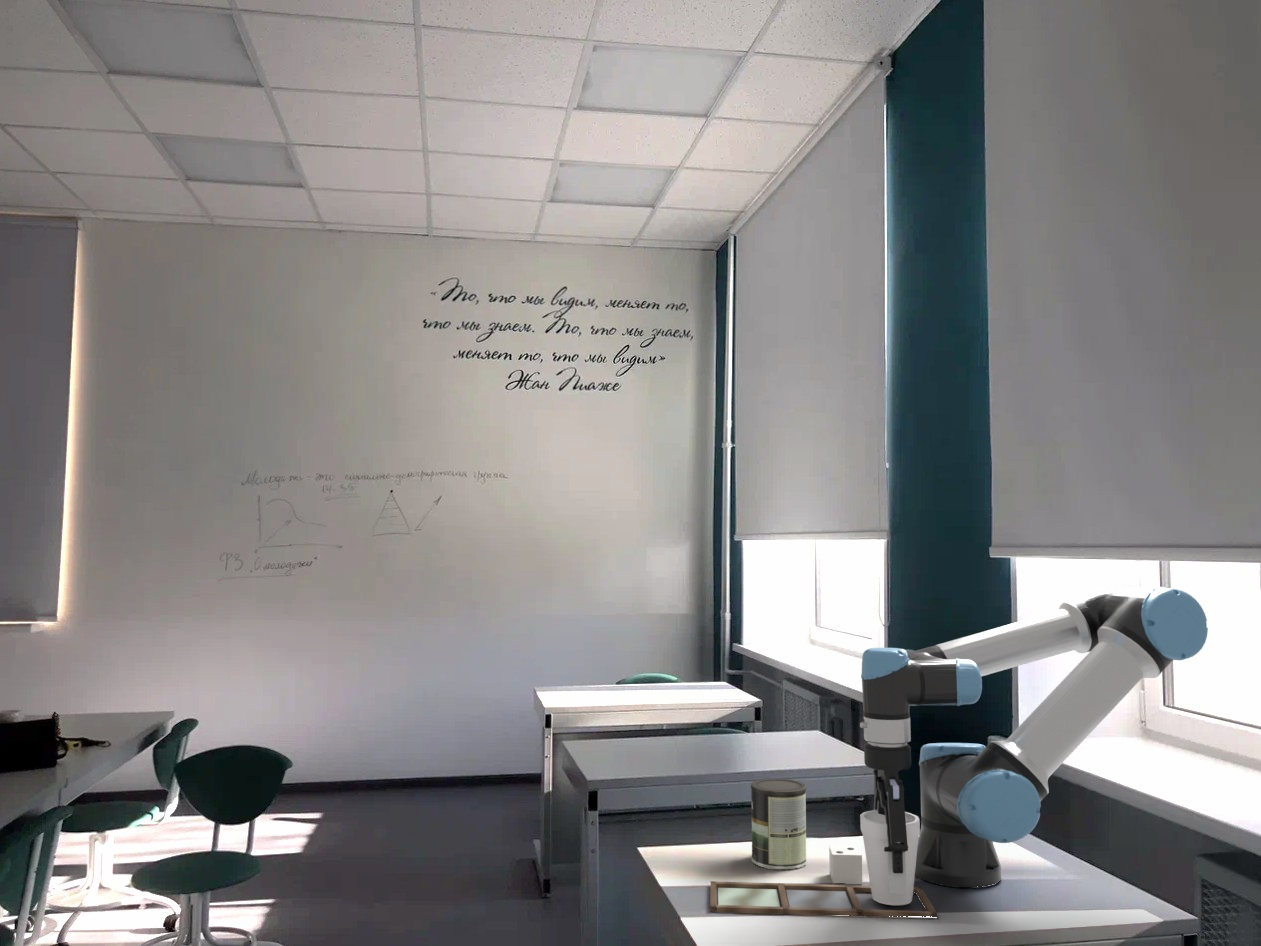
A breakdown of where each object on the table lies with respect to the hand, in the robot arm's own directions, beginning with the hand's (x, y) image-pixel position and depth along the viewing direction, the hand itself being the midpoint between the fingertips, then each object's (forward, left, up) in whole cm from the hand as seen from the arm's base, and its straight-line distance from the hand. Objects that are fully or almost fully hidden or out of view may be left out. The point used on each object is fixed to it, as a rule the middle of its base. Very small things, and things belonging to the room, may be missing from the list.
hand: (891, 881), depth 162 cm
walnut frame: (+12, 0, -3) cm, 12 cm away
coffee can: (+17, -21, -4) cm, 27 cm away
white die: (+6, -12, -4) cm, 14 cm away
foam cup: (0, 0, -3) cm, 3 cm away
